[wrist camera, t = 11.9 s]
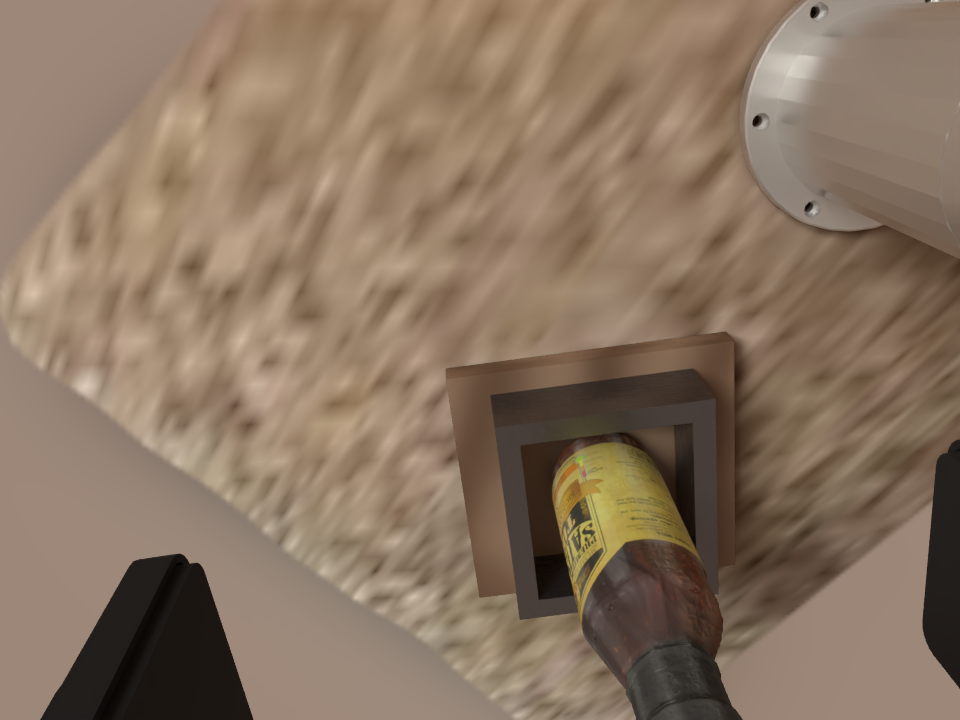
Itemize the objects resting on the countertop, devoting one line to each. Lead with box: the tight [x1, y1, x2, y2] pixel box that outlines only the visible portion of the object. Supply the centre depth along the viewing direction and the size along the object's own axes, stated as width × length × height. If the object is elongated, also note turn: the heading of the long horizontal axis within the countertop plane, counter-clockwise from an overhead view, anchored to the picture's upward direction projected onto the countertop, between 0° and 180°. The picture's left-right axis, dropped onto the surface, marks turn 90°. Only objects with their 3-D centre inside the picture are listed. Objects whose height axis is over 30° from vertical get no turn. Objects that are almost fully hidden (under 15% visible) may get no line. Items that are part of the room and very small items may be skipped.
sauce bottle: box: [552, 432, 742, 720], centre depth 39 cm, size 6×6×20 cm
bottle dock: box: [446, 332, 735, 620], centre depth 47 cm, size 16×15×6 cm
